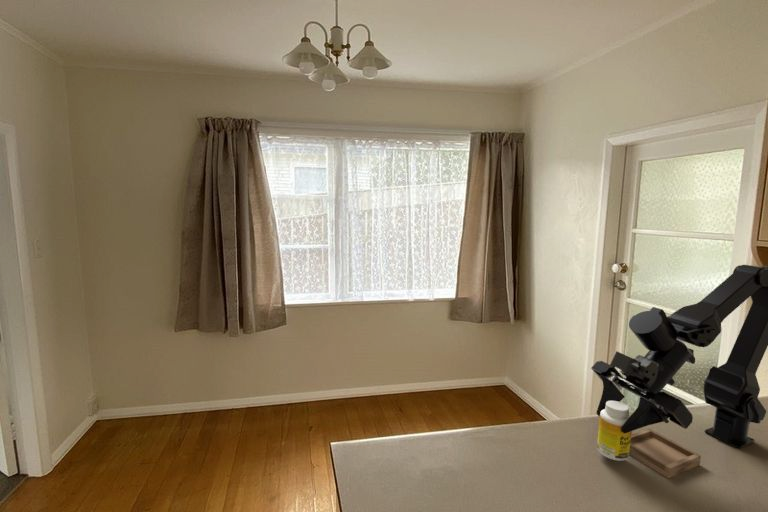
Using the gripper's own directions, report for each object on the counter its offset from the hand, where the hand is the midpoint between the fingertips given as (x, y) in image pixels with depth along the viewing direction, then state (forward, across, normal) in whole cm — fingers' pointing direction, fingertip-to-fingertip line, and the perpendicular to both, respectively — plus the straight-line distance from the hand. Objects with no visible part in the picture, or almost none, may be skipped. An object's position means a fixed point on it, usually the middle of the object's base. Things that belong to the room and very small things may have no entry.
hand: (609, 423), depth 77 cm
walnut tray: (-2, +1, +14) cm, 14 cm away
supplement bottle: (+4, 0, +6) cm, 7 cm away
